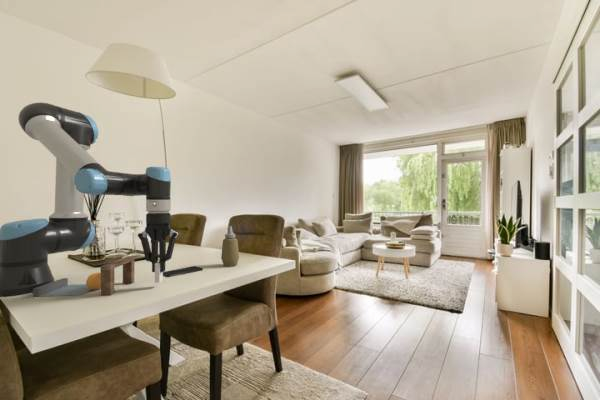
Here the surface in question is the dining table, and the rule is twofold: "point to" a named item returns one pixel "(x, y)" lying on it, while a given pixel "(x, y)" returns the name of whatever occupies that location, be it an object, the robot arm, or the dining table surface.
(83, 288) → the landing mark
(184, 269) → the phone
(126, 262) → the bridge
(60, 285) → the stopper wall
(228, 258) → the squeeze bottle
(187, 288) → the dining table surface
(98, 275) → the ball
